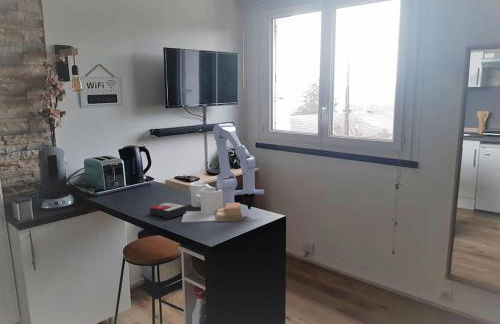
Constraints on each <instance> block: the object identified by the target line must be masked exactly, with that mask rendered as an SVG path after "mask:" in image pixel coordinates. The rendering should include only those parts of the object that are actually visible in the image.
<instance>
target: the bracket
mask: <svg viewBox="0 0 500 324" xmlns="http://www.w3.org/2000/svg"><path fill="white" fill-rule="evenodd" d="M190 199H191V200H190V202H191V203H190V205H191V206H192V207H193V208H200V211H201V212H202V213H204V214H216V213H217V209H220V208H222V190H219V189H217V186H214V187H213V186H211V185H209V184H208V183H204V181H195V182H192V183H190Z"/></svg>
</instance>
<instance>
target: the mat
mask: <svg viewBox="0 0 500 324" xmlns="http://www.w3.org/2000/svg"><path fill="white" fill-rule="evenodd" d="M182 215H183V216H182V219H181V223H182V224H183V223H184V224H186V223H204V222H205V223H208V222H211V223H212V222H218V221H217V213H216V214H204V213H202V212H201V210H193V211H190V210H189V211H188V210H186V213H184V214H182Z"/></svg>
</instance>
